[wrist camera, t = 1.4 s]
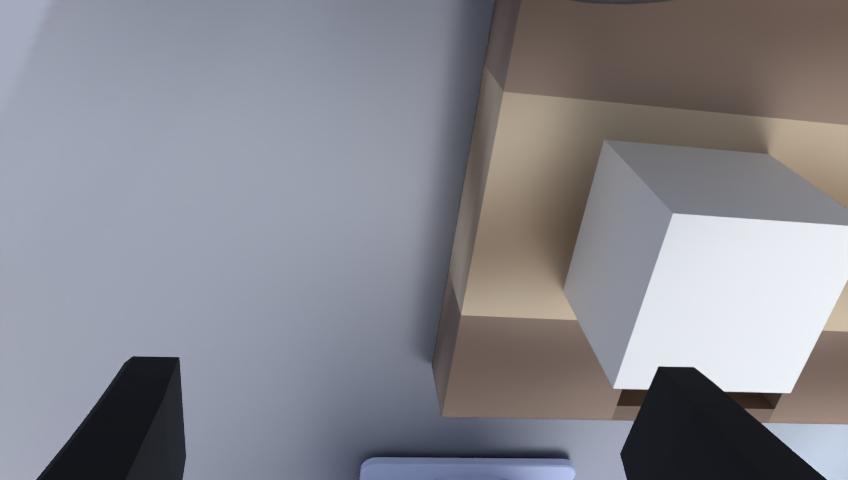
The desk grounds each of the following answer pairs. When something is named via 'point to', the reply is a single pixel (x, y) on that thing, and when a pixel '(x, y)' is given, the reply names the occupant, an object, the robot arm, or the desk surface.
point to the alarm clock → (621, 1)
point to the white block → (705, 266)
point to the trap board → (575, 168)
